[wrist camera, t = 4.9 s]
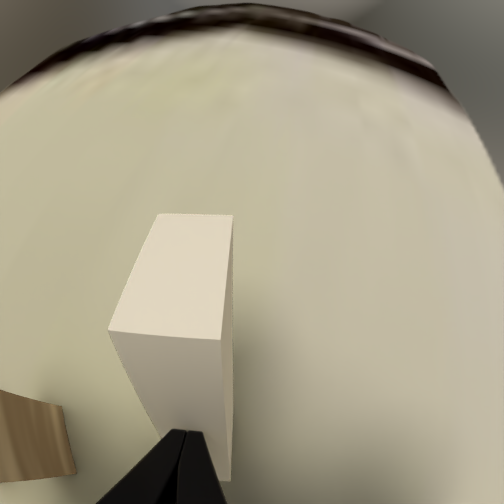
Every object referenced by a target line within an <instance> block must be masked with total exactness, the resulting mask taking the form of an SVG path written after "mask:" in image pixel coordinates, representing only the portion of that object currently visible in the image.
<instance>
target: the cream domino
mask: <svg viewBox="0 0 504 504" xmlns="http://www.w3.org/2000/svg"><path fill="white" fill-rule="evenodd" d="M108 332H109V335H110V337H111V340H112V342H113V344H114V346H115V349H116V351H117V353H118V355H119V358H120V360H121V362H122V364H123V366H124V368H125V370H126V373H127V375H128V377H129V379H130V381H131V383H132V385H133V387H134V389H135V391H136V393H137V395H138V397H139V399H140V401H141V402H142V404H143V406H144V408H145V410H146V412H147V414H148V415H149V417H150V419H151V421H152V423H153V424H154V426H155V428H156V430H157V431H158V433H159V435H160V437H161V438H163V437H164V436H165V435H166V434H167V433H168V432H169V431H170V430H171V429H183V430H186V431H189V430H193V431H202V432H203V434H204V437H205V440H206V444H207V447H208V450H209V453H210V456H211V459H212V462H213V465H214V468H215V471H216V474H217V477H218V479H219V481H231V458H232V433H233V215H205V214H158V215H157V217H156V219H155V222H154V224H153V226H152V228H151V230H150V232H149V234H148V236H147V238H146V240H145V243H144V245H143V247H142V249H141V251H140V254H139V256H138V258H137V260H136V262H135V265H134V267H133V269H132V271H131V274H130V276H129V278H128V281H127V283H126V285H125V288H124V290H123V293H122V295H121V297H120V300H119V302H118V305H117V307H116V310H115V312H114V315H113V317H112V320H111V322H110V325H109V327H108Z"/></svg>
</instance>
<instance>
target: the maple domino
mask: <svg viewBox="0 0 504 504" xmlns="http://www.w3.org/2000/svg"><path fill="white" fill-rule="evenodd" d="M76 473H77V472H76V468H75V464H74V461H73V457H72V453H71V449H70V445H69V440H68V436H67V431H66V426H65V422H64V416H63V411H62V406H58V405H53V404H49V403H45V402H41V401H37V400H33V399H30V398H26V397H22V396H19V395H15V394H12V393H9V392H5V391H2V390H0V483H2V482H16V481H26V480H35V479H44V478H51V477H58V476H64V475H70V474H76Z"/></svg>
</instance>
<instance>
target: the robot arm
mask: <svg viewBox="0 0 504 504" xmlns="http://www.w3.org/2000/svg"><path fill="white" fill-rule="evenodd" d="M96 504H227V501H226V499H225V496H224V493H223V491H222V488H221V485H220V482H219V479H218V477H217V474H216V471H215V468H214V465H213V462H212V459H211V456H210V453H209V450H208V447H207V444H206V440H205V437H204V434H203V432H202V431H193V430H189V431H186V430H183V429H171V430H170V431H169V432H168V433H167V434H166V435H165V436H164V437H163V438H162V439H161V440H160V441H159V442H158V443H157V444H156V445H155V446H154V447H153V448H152V449H151V450H150V451H149V452H148V453H147V454H146V455H145V456H144V457H143V458H142V459H141V460H140V461H139V462H138V463H137V464H136V465H135V466H134V467H133V468H132V469H131V470H130V471H129V472H128V473H127V474H126V475H125V476H124V477H123V478H122V479H121V480H120V481H119V482H118V483H117V484H116V485H115V486H114V487H113V488H112V489H111V490H110V491H109V492H107V493H106V494H105V495H104V496H103V497H102V498H101V499H100V500H99V501H98V502H97V503H96Z"/></svg>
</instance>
